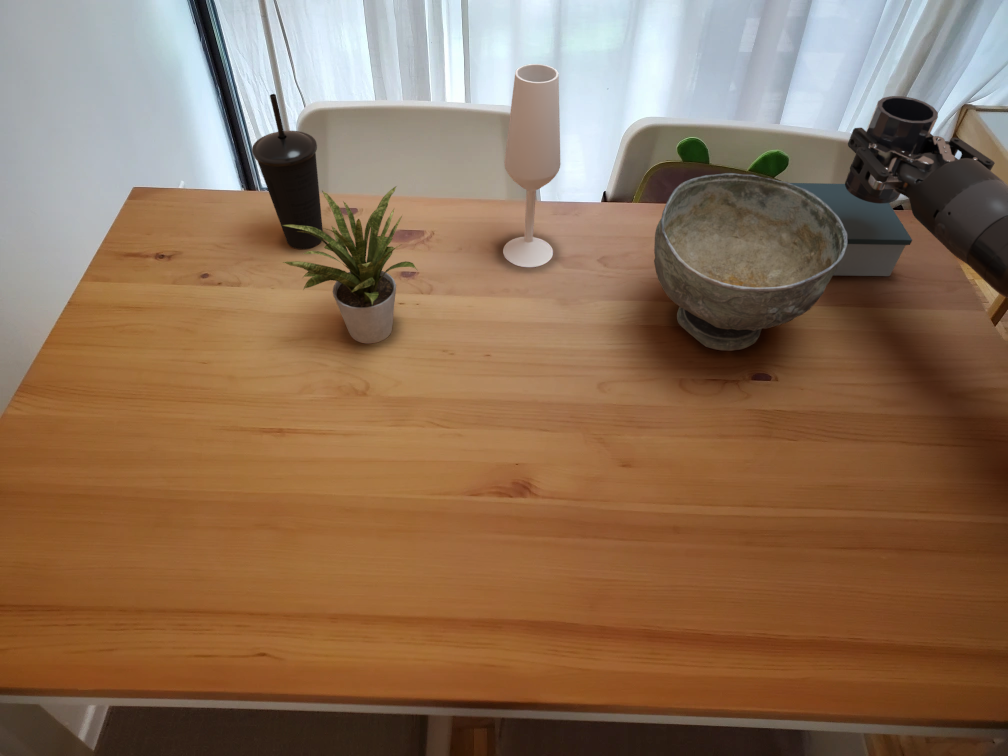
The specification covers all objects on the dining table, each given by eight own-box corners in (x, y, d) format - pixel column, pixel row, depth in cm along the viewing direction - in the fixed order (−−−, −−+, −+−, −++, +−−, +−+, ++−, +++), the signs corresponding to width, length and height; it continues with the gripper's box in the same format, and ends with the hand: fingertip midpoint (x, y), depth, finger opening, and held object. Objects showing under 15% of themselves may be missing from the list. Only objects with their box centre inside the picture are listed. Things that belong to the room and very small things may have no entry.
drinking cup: (329, 256, 94) (300, 111, 80) (270, 256, 94) (230, 110, 80) (338, 222, 100) (312, 80, 85) (282, 221, 99) (247, 79, 85)
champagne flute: (541, 273, 93) (553, 92, 75) (494, 258, 95) (495, 79, 77) (561, 244, 97) (577, 67, 79) (515, 231, 99) (521, 55, 81)
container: (860, 221, 102) (877, 184, 97) (892, 278, 93) (912, 240, 89) (772, 219, 102) (784, 182, 97) (796, 276, 93) (811, 238, 89)
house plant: (349, 272, 92) (328, 156, 80) (448, 297, 89) (442, 181, 77) (289, 344, 83) (255, 227, 71) (397, 376, 80) (381, 258, 68)
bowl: (652, 385, 80) (678, 280, 69) (628, 274, 93) (647, 171, 82) (828, 385, 80) (882, 280, 69) (780, 275, 93) (819, 172, 82)
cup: (888, 175, 88) (924, 96, 81) (907, 204, 84) (947, 123, 76) (837, 174, 88) (869, 95, 81) (854, 203, 84) (889, 122, 76)
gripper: (1056, 173, 70) (950, 95, 81) (926, 188, 68) (835, 106, 79) (1015, 237, 76) (921, 156, 87) (893, 252, 74) (813, 167, 85)
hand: (880, 132), depth 83 cm, fingers closed on cup, 6 cm apart
